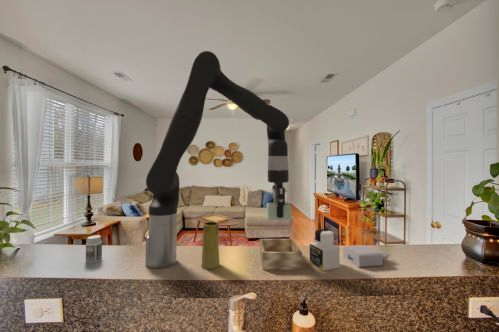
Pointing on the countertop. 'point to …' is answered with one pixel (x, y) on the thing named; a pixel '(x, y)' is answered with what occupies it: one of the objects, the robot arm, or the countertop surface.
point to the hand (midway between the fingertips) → (278, 215)
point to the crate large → (280, 254)
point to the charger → (364, 256)
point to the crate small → (273, 212)
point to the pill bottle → (93, 249)
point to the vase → (210, 245)
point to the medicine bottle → (324, 251)
